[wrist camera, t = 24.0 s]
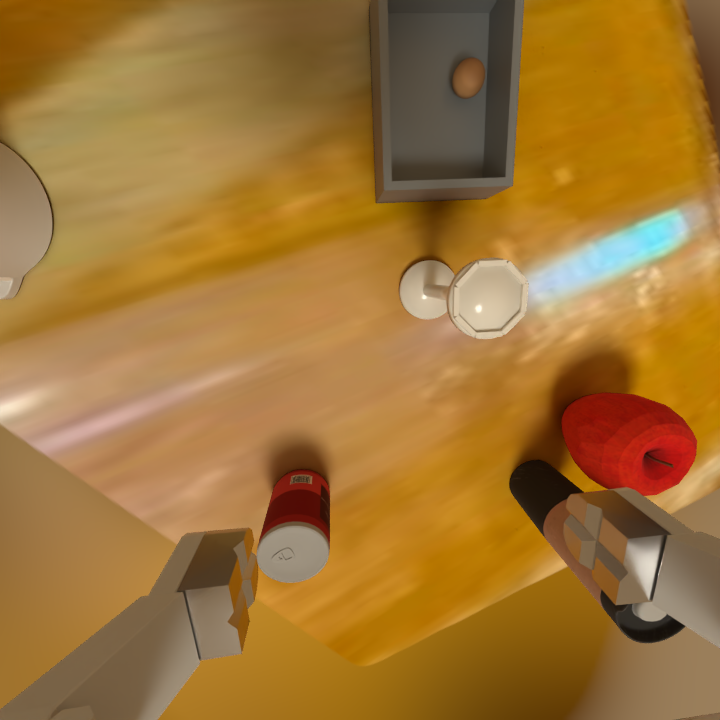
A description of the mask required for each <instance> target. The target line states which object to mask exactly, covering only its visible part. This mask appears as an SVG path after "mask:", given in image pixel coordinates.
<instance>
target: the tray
mask: <svg viewBox="0 0 720 720" xmlns="http://www.w3.org/2000/svg"><path fill="white" fill-rule="evenodd" d="M523 9H524V0H370V6H369V23H370V51H371V79H372V107H373V135H374V163H375V191H376V203H395V202H420V201H446V200H472V199H487V198H489V197H491V196H493V195H495V194H497V193H499V192H501V191H503V190H505V189H507V188H509V187H511V186H513V173H514V156H515V140H516V124H517V107H518V91H519V74H520V58H521V42H522V25H523ZM471 57H474V58H477V59H479V60H480V61H481V62H482V63H483V65H484V68H485V80H484V84H483V86H482V88H481V89H480V91H479V92H478V93H477V94H476V95H475V96H473V97H471V98H468V99H462V98H460V97H458V96H457V95H456V94H455V92H454V90H453V87H452V78H453V74H454V71H455V69H456V67H457V66H458V65H459V64H460V63H461V62H462V61H463V60H465V59H467V58H471Z"/></svg>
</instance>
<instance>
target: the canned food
mask: <svg viewBox="0 0 720 720" xmlns="http://www.w3.org/2000/svg"><path fill="white" fill-rule="evenodd" d="M329 549H330V491H329V487H328V485H327V483H326V481H325V480H324V478H323V477H322V476H321V475H319V474H318V473H316V472H314V471H311V470H303V469H301V470H295V471H292V472H289V473H287V474H286V475H284V476H283V477H282V478H281V479H280V480H279V481H278V482H277V484H276V485H275V487H274V489H273V492H272V496H271V500H270V503H269V507H268V511H267V514H266V518H265V521H264V525H263V529H262V532H261V536H260V539H259V544H258V548H257V562H258V565H259V567H260V569H261V570H262V571H263V572H264V573H265V574H266V575H267V576H268V577H270V578H272V579H274V580H277V581H280V582H287V583H294V582H300V581H304V580H307V579H309V578H311V577H313V576H315V575H316V574H317V573H319V572H320V571H321V570H322V569H323V567H324V566H325V564H326V562H327V560H328V556H329Z"/></svg>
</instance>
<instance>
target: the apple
mask: <svg viewBox="0 0 720 720" xmlns="http://www.w3.org/2000/svg"><path fill="white" fill-rule="evenodd" d="M561 422H562V433H563V436H564V439H565V442H566V445H567V447H568V450H569V452H570V454H571V456H572V458H573V460H574V462H575V463H576V464H577V465H578V467H579V468H580V469H581V470H582V471H583V472H584V473H585V474H586V475H587V476H588V477H589V478H590V479H592V480H593V481H595V482H596V483H598V484H600V485H601V486H603V487H605V488H607V489H616V488H624V487H628V488H631V489H634V490H636V491H637V492H639V493H640V494H641V495H643V496H648V495H657V494H659V493H661V492H663V491H665V490H667V489H669V488H671V487H673V486H675V485H677V484H679V483H680V481H681V480H682V479H683V477H684V476H685V475H686V474H687V473H688V471H689V469H690V467H691V466H692V464H693V462H694V460H695V456H696V449H697V440H696V438H695V436H694V434H693V432H692V430H691V429H690V427H689V426H688V425H687V423H686V422H685V421H684V419H683V418H682V417H680V416H679V415H678V414H677V413H675V412H674V411H673V410H672V409H671V408H669V407H668V406H666V405H663V404H660V403H658V402H655V401H652V400H649V399H646V398H644V397H641V396H637V395H633V394H619V393H599V394H593V395H588V396H584V397H582V398H579V399H577V400H575V401H574V402H572V403H571V404H570V405H569V406H568V407H567V408H566V410H565V411H564V413H563V416H562V420H561Z"/></svg>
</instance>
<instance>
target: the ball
mask: <svg viewBox="0 0 720 720" xmlns="http://www.w3.org/2000/svg"><path fill="white" fill-rule="evenodd" d="M484 80H485V68H484V65H483V63H482V62H481V61H480V60H479V59H477V58H474V57H471V58H467V59H465V60H463V61H462V62H461V63H460V64H459V65H458V66H457V67H456V69H455V71H454V74H453V78H452V87H453V90H454V92H455V94H456V95H457V96H458V97H460V98H462V99H468V98H471V97H473V96H475V95H476V94H477V93H478V92H479V91H480V89H481V88H482V86H483V84H484Z"/></svg>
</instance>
